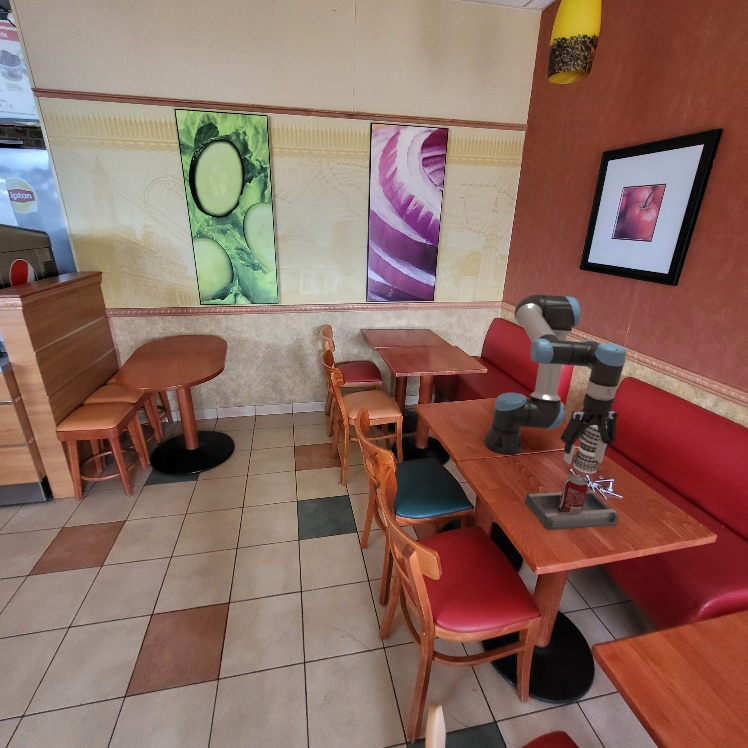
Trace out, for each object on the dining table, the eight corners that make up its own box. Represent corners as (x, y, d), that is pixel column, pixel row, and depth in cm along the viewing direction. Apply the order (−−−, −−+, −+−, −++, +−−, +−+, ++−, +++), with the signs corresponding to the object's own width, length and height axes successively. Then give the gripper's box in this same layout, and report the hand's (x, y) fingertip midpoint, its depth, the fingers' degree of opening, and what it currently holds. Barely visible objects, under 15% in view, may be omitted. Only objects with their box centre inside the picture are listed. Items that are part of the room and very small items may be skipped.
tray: (524, 501, 138) (526, 491, 136) (587, 497, 142) (590, 487, 141) (547, 530, 125) (550, 519, 124) (616, 524, 129) (619, 514, 128)
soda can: (583, 518, 129) (592, 487, 125) (560, 515, 130) (569, 483, 126) (577, 505, 136) (585, 475, 132) (556, 502, 137) (563, 471, 133)
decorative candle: (599, 476, 155) (615, 417, 147) (573, 470, 158) (587, 412, 150) (596, 464, 163) (612, 408, 155) (571, 459, 166) (585, 403, 158)
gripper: (573, 401, 114) (556, 469, 121) (642, 400, 118) (622, 466, 125) (557, 391, 121) (543, 456, 128) (623, 390, 125) (606, 453, 132)
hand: (582, 461), depth 127 cm, fingers open, 10 cm apart
